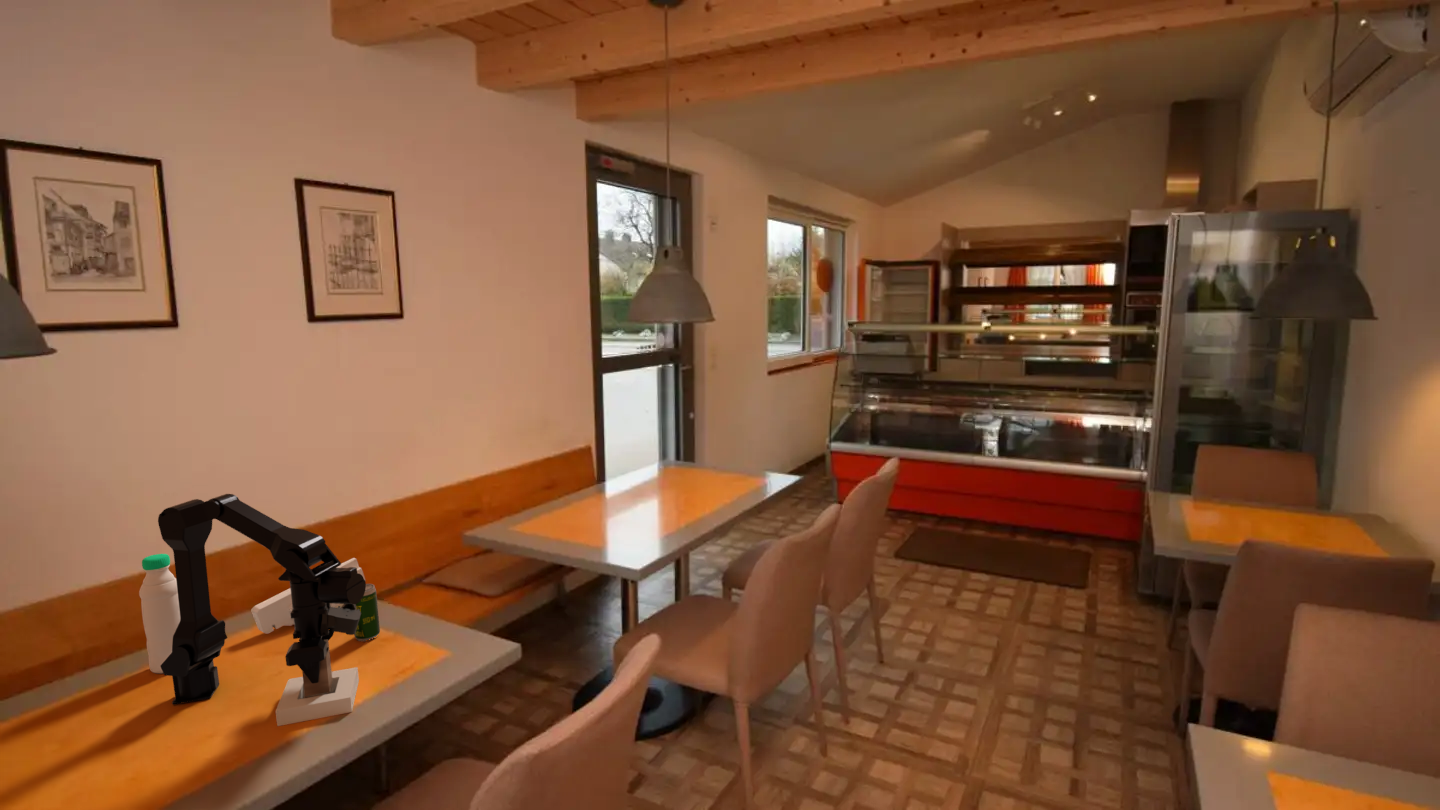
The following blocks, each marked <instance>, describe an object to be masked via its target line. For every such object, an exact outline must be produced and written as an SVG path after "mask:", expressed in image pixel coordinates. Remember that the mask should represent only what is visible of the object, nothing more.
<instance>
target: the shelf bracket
mask: <svg viewBox="0 0 1440 810" xmlns="http://www.w3.org/2000/svg"><path fill="white" fill-rule="evenodd" d="M349 567H356V568H357V573H358V574H361V575H362V576H363V578H364V580H365V582H367V581H366V577H365V574H364V571H363V569H362V567H360V566H359V562H358V559H357V558H355V557H352V558H350V559H348V560H346V561H344V562H342V563H341V565H340V566H338V567H336V568H349ZM330 605H331V607H336V608H337V607H338V606H340V605H341V604H336V603H330ZM292 609H293V608H292V598H291V589H290V587H289V588H288V589H286V590H283V591H282V592H280V593H277V594H276V595H274V596H272V597H269V598H268V599H266V600H265V599H264V601H262V602H260V603H258V604H256V605H254V606H253V607H252V608H251V610H250V611H251V614H252V616H253V620H254V622H255V623H256V627H257V630H258V631H260V632H262V633H263V634H265V635H266V634H267V635H268V634H270V633H272V632H274V631H275V630H277V629H280V628H281V627H284V626H290V627H291V626H293V625H294V618H291V611H292ZM274 629H275V630H274Z"/></svg>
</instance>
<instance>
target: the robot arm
mask: <svg viewBox="0 0 1440 810" xmlns="http://www.w3.org/2000/svg"><path fill="white" fill-rule="evenodd" d="M157 517H158V518H157V522H158V523H157V524H158V527H159V531H160V535H161V539H162V540H163V541H164V542H165V543H166V544H167V546H168V547H169V548H171V550H172V552H173V558H174V559H173V560H174V569H175V578H176V581H177V590H178V600H179V609H180V622H179V624H178V627H177V629H176V631H175V633H174V635H173V642H172V653H171V654H170V655H169V656H168V658H167V659H166V660H165V661H164V662H163V663H162V664H161V669H162V671H163V673H162V674H163V675H164V676H169V677H171V678H172V683H173V693H174V699H173V700H172V705H174V706H175V705H181V704H186V703H187V704H188V703H192V702H197V701H203V700H208V699H211V698H212V697H213V695H214V693H215V692H216V691H217V689H218V687H219V685H220V678H219V672H218V671H219V670H218V666H216V665H214V664H215V663H214V660H215V659H216V658H219V657H220V655H221V651H222V650H221V649H222V648H223V647H224V646H225V643H226V641H225V640H226V639H228V635H227V634H226V622H225V621H224V620H223V619H222V620H218V619H217V618H216V617H215V615H213V614H212V609H211V600H210V598H211V597H210V590H209V588H210V587H209V580H208V579H209V578H208V577H209V576H208V569H207V568H208V567H207V560H206V559H207V557H206V548H205V546H206V543H207V541H208V538H209V537H210V534H211V532H212V529H213V520H217V521H219V522H220V523H222V524H224V525H226V526H228V527H230V528H231V529H233V530H234V531H236V532H239V533H240V534H241V535H243V536H245V537H247V538H249V540H250V539H251V540H252V541H254V542H256V543H258V544H260V545H261V546H263V547H264V548H266V549H267V550H268V551H270V554H271V556H272V558H273V560H274V561H275V562H276V563H277V564H279V565H280V566H282V568H284V569H285V570H284V572H283V573H282V574H281V575H280V576H278V581H282V582H289V586H290V587H289V588H290V589H291V598H292V608H293V609H292V611H291V618H294V631H293V632H292V638H293V640H296V639H298V641H295V642H293V643H292V644H291V645H290V646H289V647H288V649H287V651H286V654H285V655H284V656H285V664H286V666H287V667H293V666H297V667H299V669H300V670H301V671H303V672H304V674H305V675H306V676H307V677H308V679H309V680H310V681H311V683H318V681H319V674H320V663H321V661H322V660H324V659H325V656H326V654H327V652H328V649H329V650H330V646H329V647H327V644H326V642H325V641H324V640H327V639H328V642H329V641H330V639H331V638H332V637H333V635H334V633H343V634H346V635H348V636H354V634H355V632H356V629H357V625H358V622H359V619H360V615H361V612H360V609H358V610H357V608H356V604H357V603H359V602H360V601H361V599H362V598H363V596H364V593H365V589H366V584H367V583H366V582H367V581H365V580H366V579H365V580H364V578H363V576H362V575H361V574H358V573H357V568H356V567H349V568H336V567H338V566H340V565H341V564H342V563H341V561H340V560H339V558H337V555H336V554H334V552H333V551H332V550H331V549H330V547H329V546H328V544H326V540H325V539H324V538H323V536H321V535H319V534H316V533H314V532H311V531H310V530H307V529H302V528H294V527H293V528H292V527H288V526H287V525H284V524H282V523H281V522H279V521H277V520H275V519H273V518H272V517H270V516H268V515H266V514H265V513H263V512H261V511H259V510H258V509H256V508H254V507H252V506H250V504H247V503H245V502H243V501H242V500H240V499H239V497H238V496H237V495H235V494H233V493H225V494H221V495H219V496H215V497H213V498H212V497H211V498H210V499H208V500H206V501H204V500H202V499H199V498H195V499H190V500H188V501H184V502H182V503H179V504H175V505H173V506H170V507H167V508H164V509H163V510H162V512H161V513H159V514H158V516H157ZM320 562H322V563H321V564H318V563H320ZM316 564H318V565H317V566H314V565H316ZM312 566H314V567H313V568H311V567H312ZM330 603H336V604H340V605H341V606H340V605H338V606H336V607H331V605H330Z"/></svg>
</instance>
